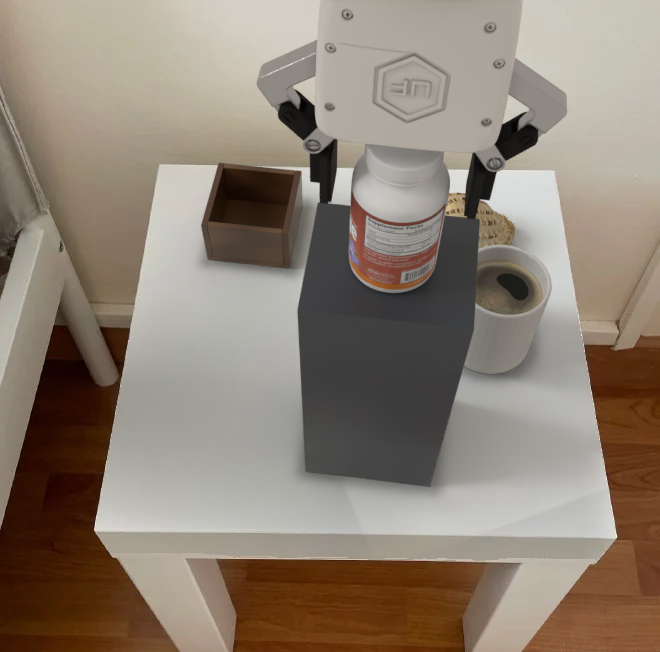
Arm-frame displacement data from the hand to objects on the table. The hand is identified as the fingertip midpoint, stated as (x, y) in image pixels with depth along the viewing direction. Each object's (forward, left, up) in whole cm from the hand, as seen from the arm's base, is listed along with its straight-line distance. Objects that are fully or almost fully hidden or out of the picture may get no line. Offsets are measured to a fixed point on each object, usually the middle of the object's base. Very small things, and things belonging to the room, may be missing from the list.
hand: (399, 194), depth 51 cm
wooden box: (-16, +24, -33) cm, 44 cm away
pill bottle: (0, 0, -7) cm, 7 cm away
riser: (0, 0, -33) cm, 33 cm away
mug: (+10, +14, -33) cm, 37 cm away
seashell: (+8, +27, -33) cm, 43 cm away
